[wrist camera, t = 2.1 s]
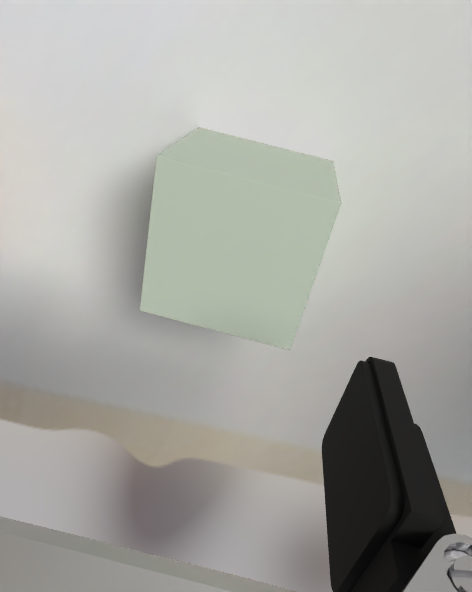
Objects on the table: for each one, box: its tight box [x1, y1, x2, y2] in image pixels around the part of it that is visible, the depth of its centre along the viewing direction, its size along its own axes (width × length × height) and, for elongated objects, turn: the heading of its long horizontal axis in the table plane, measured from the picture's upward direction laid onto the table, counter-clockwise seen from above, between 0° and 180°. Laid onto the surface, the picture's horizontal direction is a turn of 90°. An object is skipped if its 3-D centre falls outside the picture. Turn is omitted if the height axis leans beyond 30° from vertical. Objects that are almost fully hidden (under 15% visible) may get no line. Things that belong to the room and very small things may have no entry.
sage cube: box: [140, 127, 341, 350], centre depth 18 cm, size 6×6×6 cm
